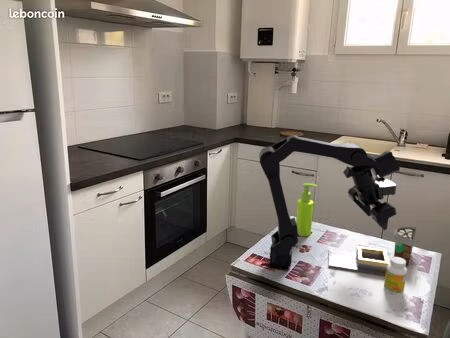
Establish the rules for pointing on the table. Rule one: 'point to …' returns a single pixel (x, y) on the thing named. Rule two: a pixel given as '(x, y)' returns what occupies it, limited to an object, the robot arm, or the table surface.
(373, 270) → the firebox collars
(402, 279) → the supplement bottle
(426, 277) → the table surface
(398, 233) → the food container
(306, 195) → the soap dispenser
